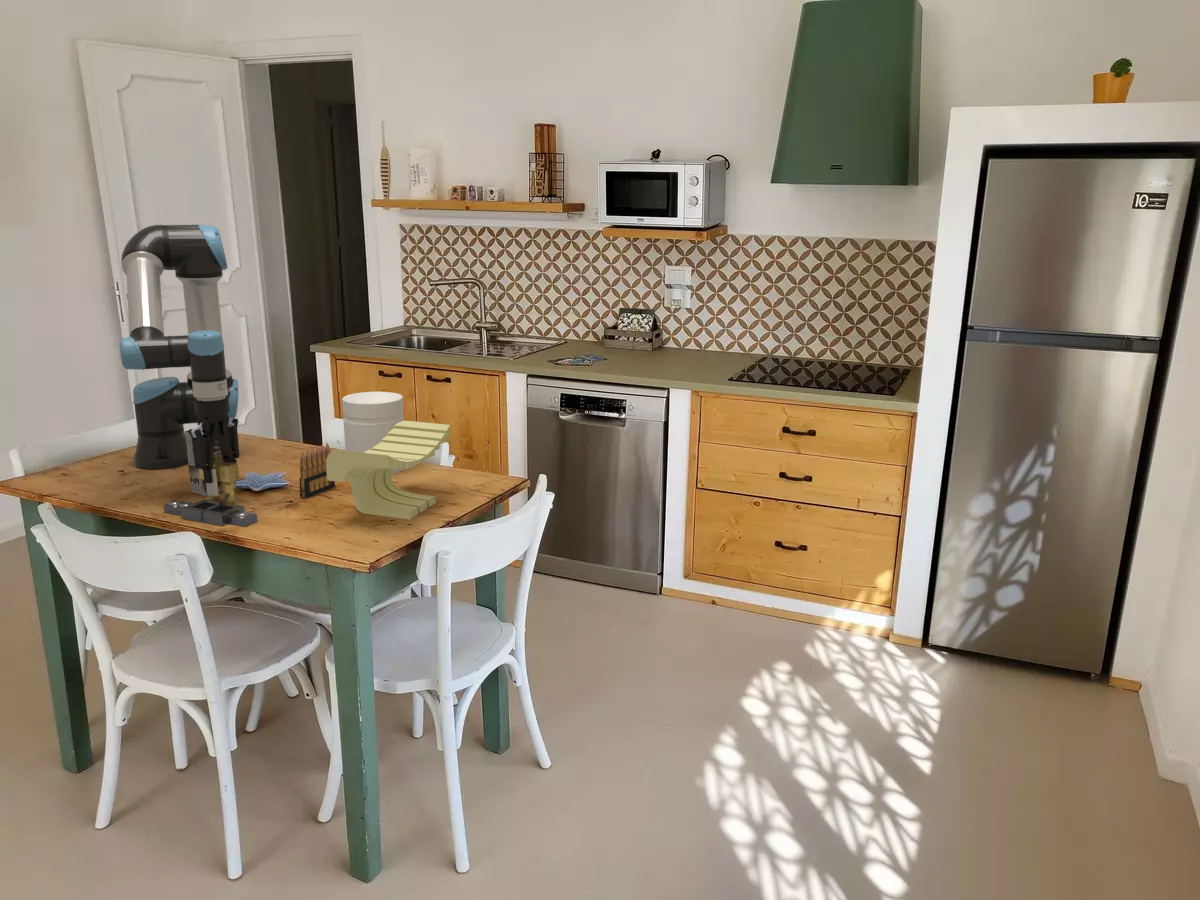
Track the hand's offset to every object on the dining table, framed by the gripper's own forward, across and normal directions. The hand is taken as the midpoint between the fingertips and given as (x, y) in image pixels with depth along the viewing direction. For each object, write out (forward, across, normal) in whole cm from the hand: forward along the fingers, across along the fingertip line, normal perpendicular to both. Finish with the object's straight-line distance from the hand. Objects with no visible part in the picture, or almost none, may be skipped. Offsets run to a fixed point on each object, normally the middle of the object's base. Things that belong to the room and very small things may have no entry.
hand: (220, 491), depth 218 cm
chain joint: (+3, -8, -5) cm, 10 cm away
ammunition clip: (+3, +17, -15) cm, 23 cm away
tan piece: (+3, 0, 0) cm, 3 cm away
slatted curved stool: (+3, +15, -39) cm, 42 cm away
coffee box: (+3, +8, +10) cm, 13 cm away
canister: (+3, +41, -16) cm, 44 cm away
